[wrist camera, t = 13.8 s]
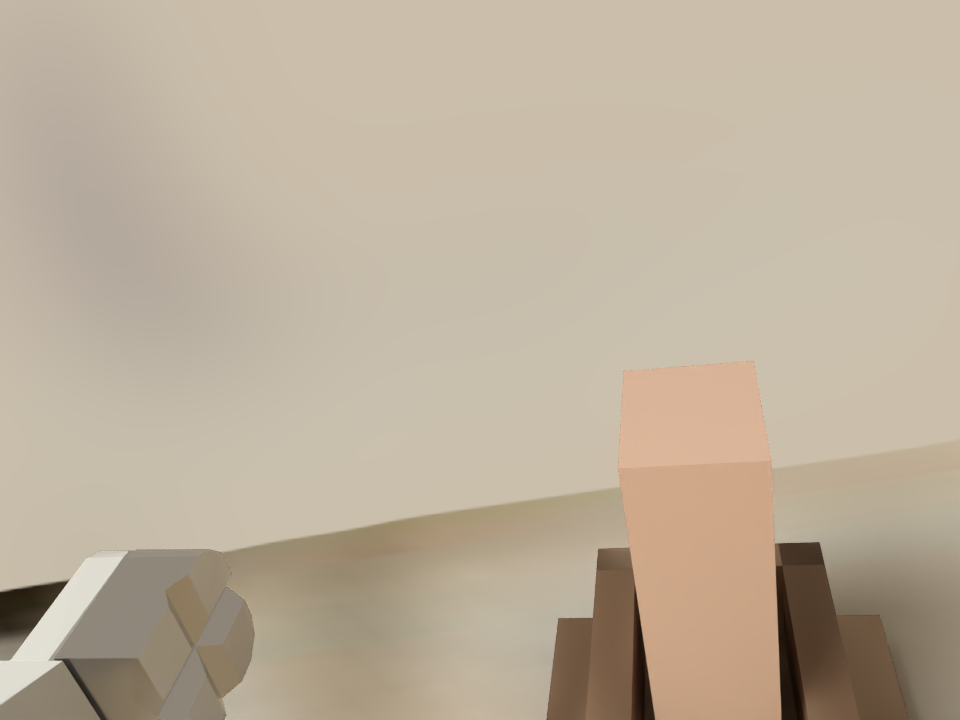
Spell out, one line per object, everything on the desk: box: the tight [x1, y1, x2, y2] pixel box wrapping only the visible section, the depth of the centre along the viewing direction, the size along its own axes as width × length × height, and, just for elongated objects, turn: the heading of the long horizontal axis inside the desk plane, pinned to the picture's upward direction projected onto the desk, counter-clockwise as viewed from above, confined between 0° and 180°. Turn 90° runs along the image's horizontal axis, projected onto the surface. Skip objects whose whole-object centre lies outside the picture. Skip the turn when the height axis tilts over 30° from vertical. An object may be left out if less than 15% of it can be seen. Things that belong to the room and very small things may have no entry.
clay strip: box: [618, 361, 781, 720], centre depth 29 cm, size 4×5×14 cm
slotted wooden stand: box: [547, 542, 909, 720], centre depth 32 cm, size 13×9×6 cm
